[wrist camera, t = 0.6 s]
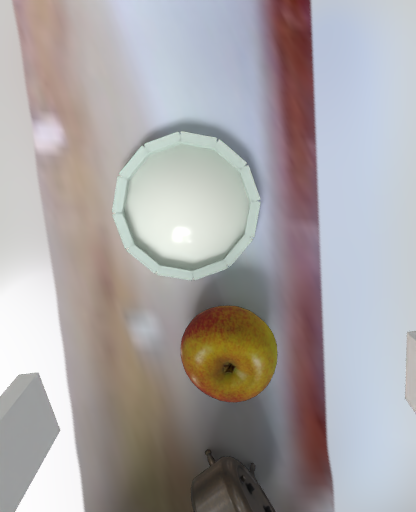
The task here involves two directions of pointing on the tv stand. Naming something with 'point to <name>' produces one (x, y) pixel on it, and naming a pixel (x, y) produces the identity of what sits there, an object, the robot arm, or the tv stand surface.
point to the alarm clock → (228, 488)
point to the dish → (186, 206)
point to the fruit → (229, 353)
